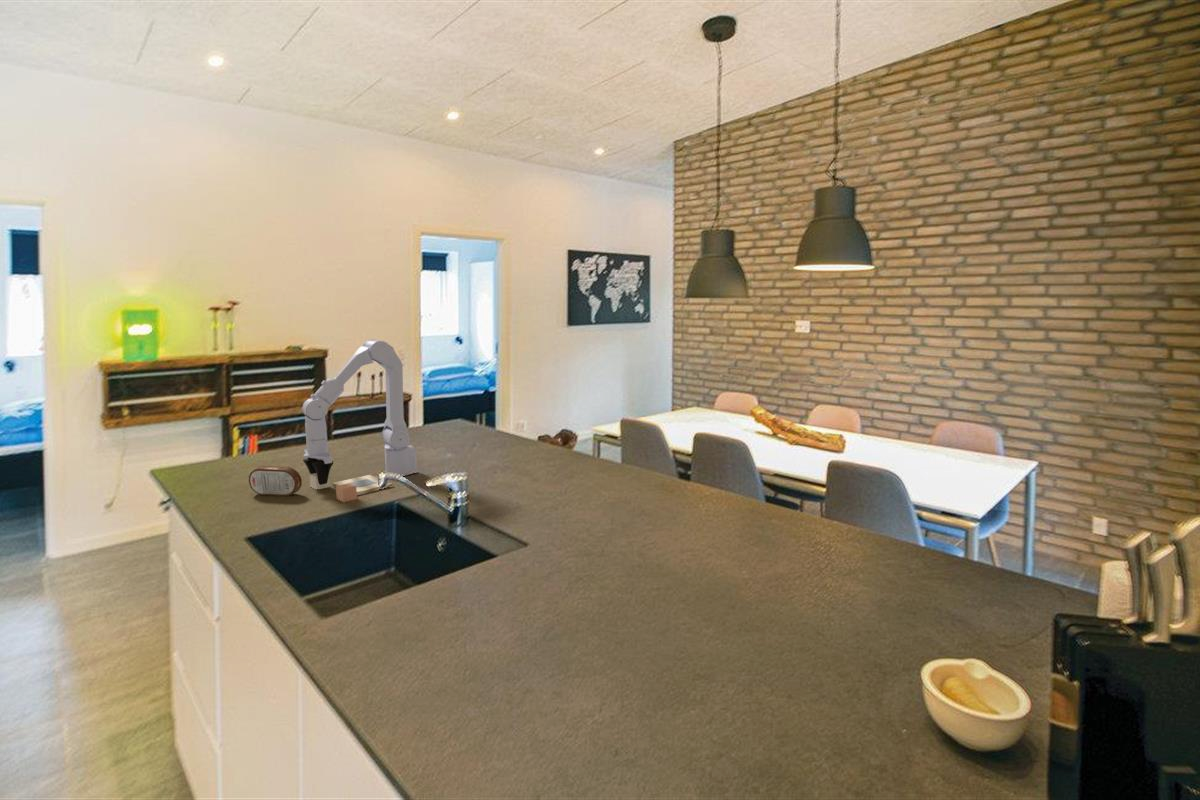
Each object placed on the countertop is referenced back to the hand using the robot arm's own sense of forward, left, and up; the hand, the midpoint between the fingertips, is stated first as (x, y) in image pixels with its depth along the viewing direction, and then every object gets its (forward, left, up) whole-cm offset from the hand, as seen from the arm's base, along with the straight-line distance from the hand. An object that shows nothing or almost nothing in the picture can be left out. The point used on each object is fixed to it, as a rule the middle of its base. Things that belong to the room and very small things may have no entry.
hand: (319, 482), depth 187 cm
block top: (0, +17, -2) cm, 17 cm away
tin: (+12, -2, -2) cm, 12 cm away
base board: (-9, +9, -1) cm, 13 cm away
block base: (0, 0, -1) cm, 1 cm away
